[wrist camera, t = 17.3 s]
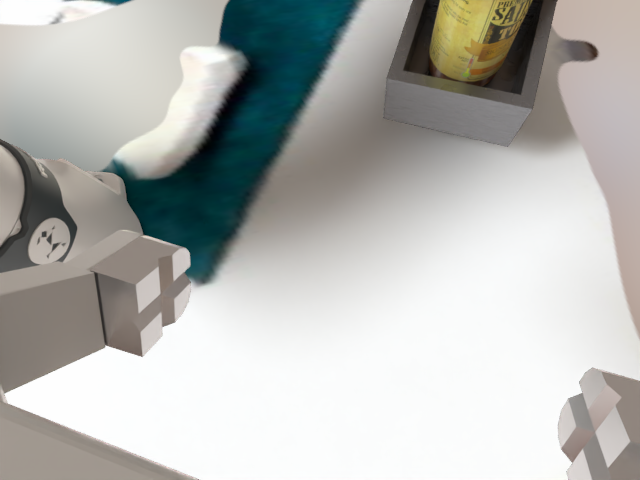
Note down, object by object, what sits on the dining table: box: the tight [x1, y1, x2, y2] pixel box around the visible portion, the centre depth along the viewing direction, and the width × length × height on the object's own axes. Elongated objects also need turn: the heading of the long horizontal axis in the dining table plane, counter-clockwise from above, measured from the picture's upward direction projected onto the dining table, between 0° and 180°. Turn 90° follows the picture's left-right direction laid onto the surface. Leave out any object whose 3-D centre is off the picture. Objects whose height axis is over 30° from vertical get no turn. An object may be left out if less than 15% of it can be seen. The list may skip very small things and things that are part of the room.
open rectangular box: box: [384, 0, 557, 147], centre depth 36 cm, size 11×12×6 cm
